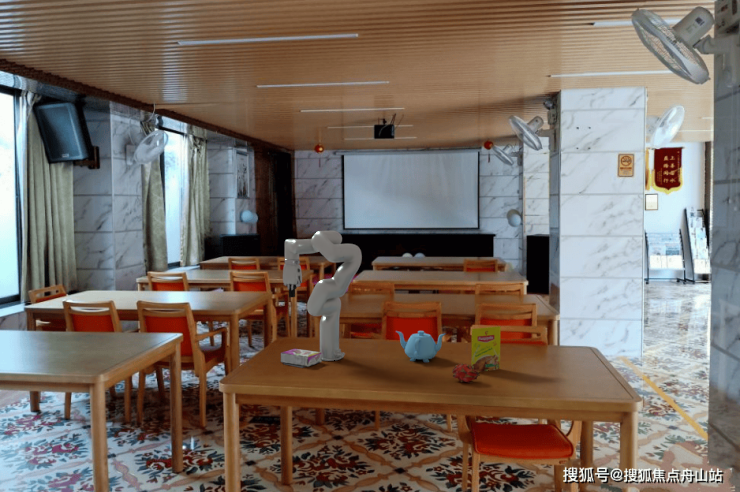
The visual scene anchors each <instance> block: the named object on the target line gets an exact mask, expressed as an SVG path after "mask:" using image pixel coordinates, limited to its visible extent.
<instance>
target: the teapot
mask: <svg viewBox="0 0 740 492" xmlns="http://www.w3.org/2000/svg"><path fill="white" fill-rule="evenodd" d="M395 333H397V334H398V335H399V341H400V345H401V347H402V349H404V353H405V355H407V357H408V358H410V359H409V361H410V362H416V360H422V361H423V363H429V362H430V360H432V359H433V358H435V357H436V355H437V353H438V352H439V351H440V350H441V348H442V345H443V344H442V342H443V341H442V339H443V337H444V336H445V335H446V333H441V334H439V336H438V338H437V343H436V342H435V340H434V338H433V337H432V335H431V334H429V333H426V332H425V331H424V330H418V331H417V333H412V334H411V335H410V337H409V338H408V340H407V341H405V338H404V333H403V332H402V331H398V330H395Z"/></svg>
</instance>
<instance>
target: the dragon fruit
mask: <svg viewBox="0 0 740 492" xmlns="http://www.w3.org/2000/svg"><path fill="white" fill-rule="evenodd" d="M451 373H452V378H454V379H458V381H459V382H460V383H463V382H465V383H468V384H473V383H474V381H476V380H478V379H477V378H478V376H479V377H480V376H481V374H480V372H478V371H477V370H474V369H473V367H472V366H471V365H470V364H467V363H458V364H455V366H454V367H453V368H452V370H451Z"/></svg>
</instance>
